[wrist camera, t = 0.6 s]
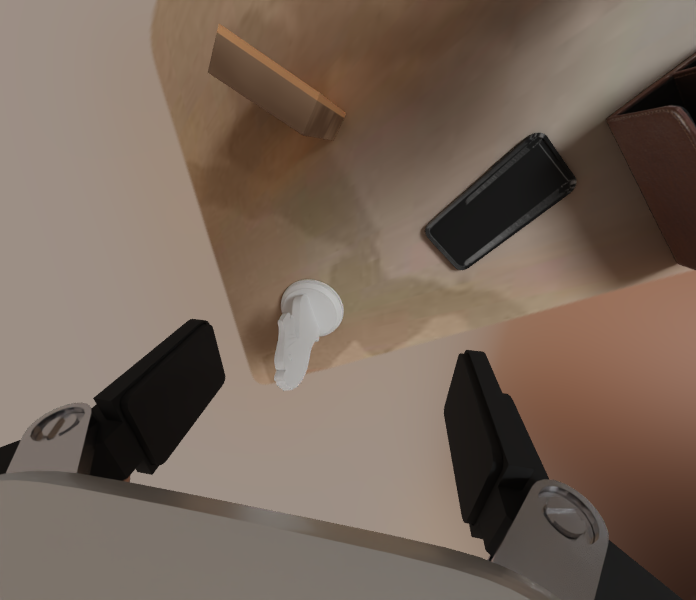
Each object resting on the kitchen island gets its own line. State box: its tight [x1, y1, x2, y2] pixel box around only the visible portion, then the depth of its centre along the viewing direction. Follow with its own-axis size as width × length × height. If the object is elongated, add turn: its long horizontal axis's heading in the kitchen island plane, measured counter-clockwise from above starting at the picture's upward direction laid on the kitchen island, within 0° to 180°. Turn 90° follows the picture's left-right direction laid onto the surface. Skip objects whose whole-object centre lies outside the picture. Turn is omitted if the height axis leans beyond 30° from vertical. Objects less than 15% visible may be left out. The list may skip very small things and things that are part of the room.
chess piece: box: [274, 279, 344, 391], centre depth 36 cm, size 10×10×15 cm
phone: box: [425, 133, 576, 270], centre depth 32 cm, size 8×1×15 cm
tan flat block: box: [208, 24, 346, 140], centre depth 25 cm, size 3×8×12 cm, turn 60°
